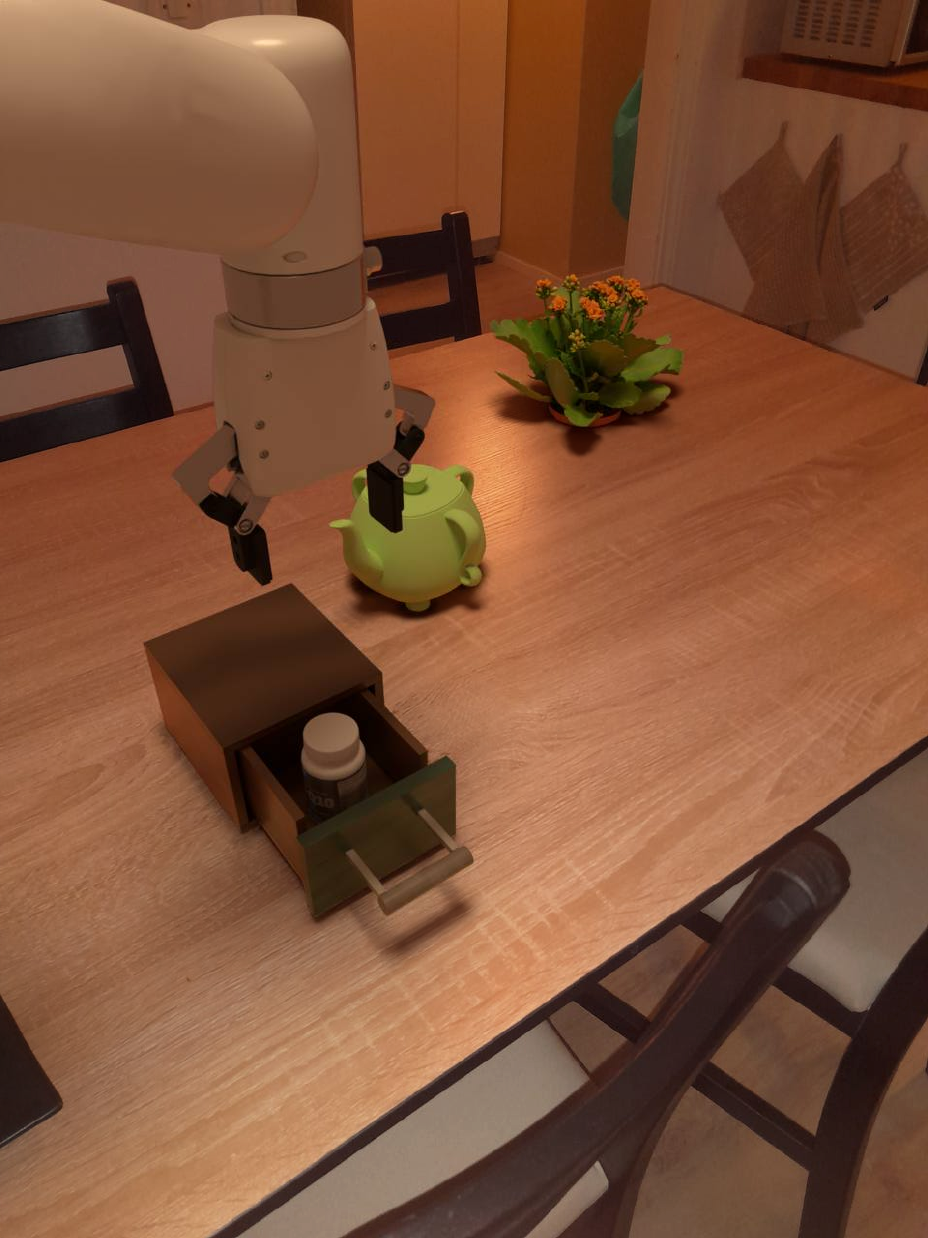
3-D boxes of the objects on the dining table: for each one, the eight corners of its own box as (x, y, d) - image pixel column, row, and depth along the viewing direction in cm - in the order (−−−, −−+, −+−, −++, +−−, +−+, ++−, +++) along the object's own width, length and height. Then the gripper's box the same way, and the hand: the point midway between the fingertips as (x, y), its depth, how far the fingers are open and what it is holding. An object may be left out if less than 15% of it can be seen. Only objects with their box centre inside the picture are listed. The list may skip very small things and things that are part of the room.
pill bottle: (295, 807, 75) (283, 730, 69) (343, 775, 77) (335, 698, 72) (334, 842, 72) (324, 765, 67) (382, 808, 75) (377, 731, 69)
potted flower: (651, 472, 118) (671, 334, 107) (467, 442, 124) (468, 309, 113) (680, 386, 137) (699, 262, 126) (519, 364, 143) (524, 243, 132)
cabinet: (388, 757, 81) (382, 672, 75) (241, 834, 75) (222, 748, 69) (302, 664, 91) (291, 582, 85) (165, 726, 84) (142, 642, 78)
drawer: (503, 884, 70) (506, 814, 66) (357, 977, 65) (349, 908, 60) (362, 732, 82) (356, 664, 78) (229, 799, 77) (214, 729, 72)
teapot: (482, 634, 94) (485, 525, 86) (337, 630, 95) (327, 521, 87) (485, 540, 107) (488, 438, 99) (356, 537, 107) (349, 434, 99)
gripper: (391, 238, 59) (402, 483, 69) (114, 300, 50) (174, 567, 61) (465, 273, 54) (464, 530, 65) (173, 348, 46) (227, 627, 57)
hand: (323, 547), depth 63 cm, fingers open, 9 cm apart
